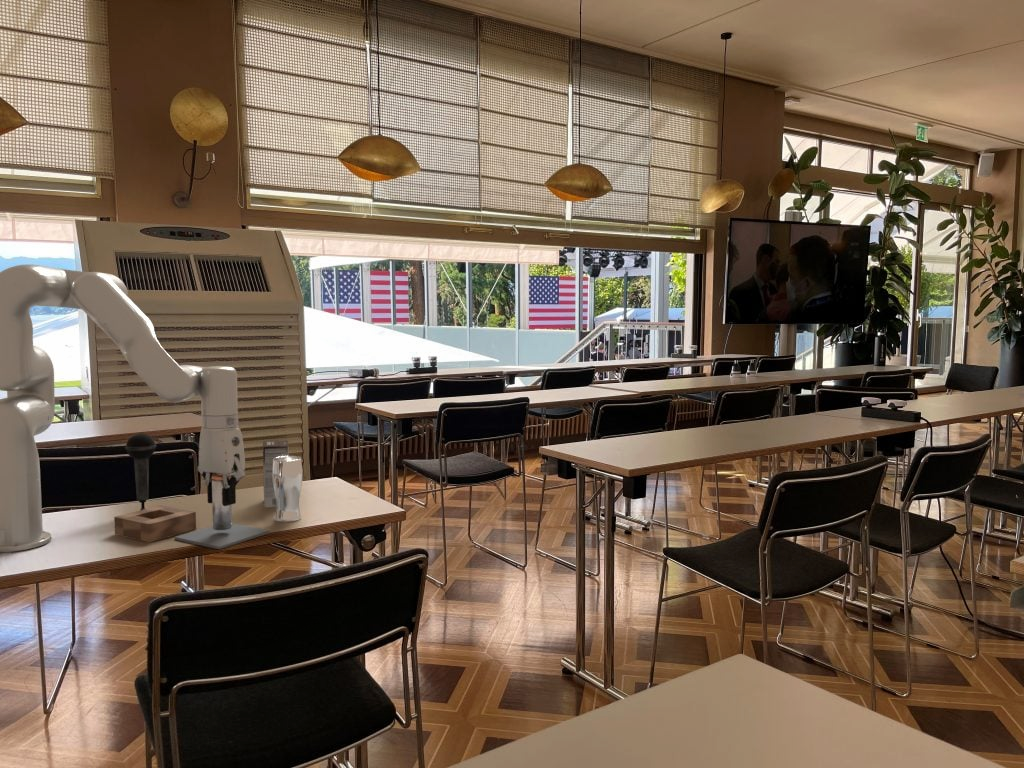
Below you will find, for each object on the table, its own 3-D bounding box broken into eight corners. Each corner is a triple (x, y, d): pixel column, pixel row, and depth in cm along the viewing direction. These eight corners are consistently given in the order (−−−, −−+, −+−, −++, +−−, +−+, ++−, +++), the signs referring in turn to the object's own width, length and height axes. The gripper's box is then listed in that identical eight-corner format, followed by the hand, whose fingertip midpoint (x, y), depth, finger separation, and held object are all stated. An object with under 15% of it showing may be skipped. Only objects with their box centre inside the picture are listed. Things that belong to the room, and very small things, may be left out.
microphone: (149, 516, 185) (147, 436, 183) (122, 516, 185) (119, 435, 183) (163, 509, 191) (160, 431, 190) (136, 509, 192) (133, 431, 190)
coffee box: (264, 499, 203) (262, 440, 201) (289, 498, 205) (288, 439, 203) (263, 508, 194) (262, 446, 193) (289, 506, 196) (288, 445, 195)
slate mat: (219, 549, 160) (219, 546, 160) (175, 539, 166) (174, 536, 166) (269, 533, 172) (269, 530, 172) (226, 524, 179) (226, 521, 178)
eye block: (149, 542, 164) (149, 524, 164) (114, 534, 170) (114, 516, 169) (196, 528, 175) (195, 511, 174) (161, 521, 180) (161, 505, 180)
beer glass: (271, 517, 185) (269, 456, 184) (299, 513, 189) (298, 454, 187) (276, 524, 179) (275, 462, 178) (305, 520, 183) (304, 459, 181)
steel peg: (235, 526, 170) (234, 474, 169) (221, 531, 166) (220, 477, 165) (223, 524, 172) (222, 472, 171) (208, 528, 168) (207, 475, 167)
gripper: (260, 423, 166) (261, 504, 168) (207, 417, 174) (209, 495, 176) (233, 427, 160) (234, 512, 161) (179, 421, 167) (182, 502, 169)
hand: (221, 502), depth 168 cm, fingers closed on steel peg, 4 cm apart
